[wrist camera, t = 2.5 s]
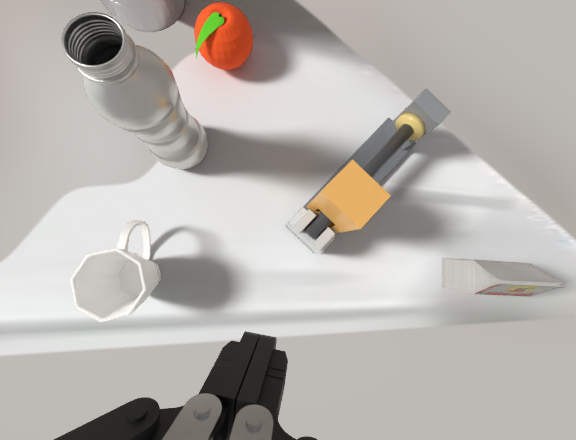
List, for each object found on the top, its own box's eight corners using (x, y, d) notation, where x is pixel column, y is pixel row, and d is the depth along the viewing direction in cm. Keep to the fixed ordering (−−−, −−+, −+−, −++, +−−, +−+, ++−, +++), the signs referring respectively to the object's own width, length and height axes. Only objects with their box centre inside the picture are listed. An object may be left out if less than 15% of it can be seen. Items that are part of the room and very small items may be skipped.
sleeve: (334, 233, 34) (360, 229, 25) (306, 206, 34) (321, 191, 25) (356, 209, 35) (390, 195, 26) (328, 182, 35) (352, 159, 26)
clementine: (224, 96, 38) (214, 63, 31) (184, 61, 38) (166, 20, 31) (264, 55, 39) (264, 13, 32) (226, 21, 39) (217, -28, 32)
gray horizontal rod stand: (313, 252, 38) (328, 254, 29) (285, 225, 38) (291, 219, 29) (412, 145, 40) (455, 116, 31) (386, 120, 40) (421, 83, 31)
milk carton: (442, 258, 39) (502, 262, 29) (490, 260, 39) (566, 265, 30) (442, 286, 39) (503, 300, 29) (490, 288, 39) (567, 303, 29)
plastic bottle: (216, 167, 38) (161, 79, 18) (163, 178, 37) (44, 100, 17) (205, 119, 38) (140, -18, 18) (152, 130, 37) (24, -2, 17)
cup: (107, 300, 35) (61, 317, 27) (124, 219, 36) (85, 211, 28) (166, 309, 36) (138, 327, 28) (182, 228, 37) (159, 223, 29)
